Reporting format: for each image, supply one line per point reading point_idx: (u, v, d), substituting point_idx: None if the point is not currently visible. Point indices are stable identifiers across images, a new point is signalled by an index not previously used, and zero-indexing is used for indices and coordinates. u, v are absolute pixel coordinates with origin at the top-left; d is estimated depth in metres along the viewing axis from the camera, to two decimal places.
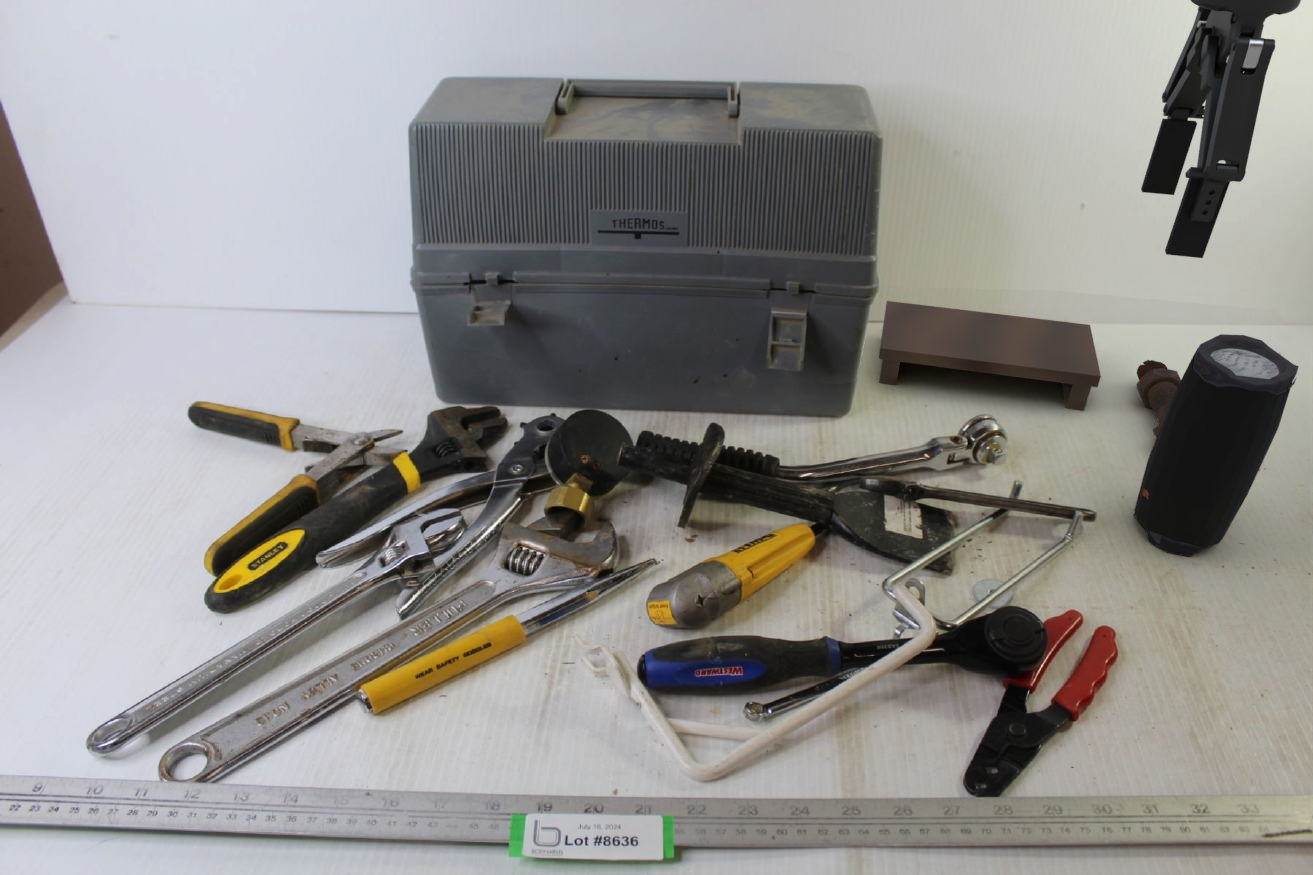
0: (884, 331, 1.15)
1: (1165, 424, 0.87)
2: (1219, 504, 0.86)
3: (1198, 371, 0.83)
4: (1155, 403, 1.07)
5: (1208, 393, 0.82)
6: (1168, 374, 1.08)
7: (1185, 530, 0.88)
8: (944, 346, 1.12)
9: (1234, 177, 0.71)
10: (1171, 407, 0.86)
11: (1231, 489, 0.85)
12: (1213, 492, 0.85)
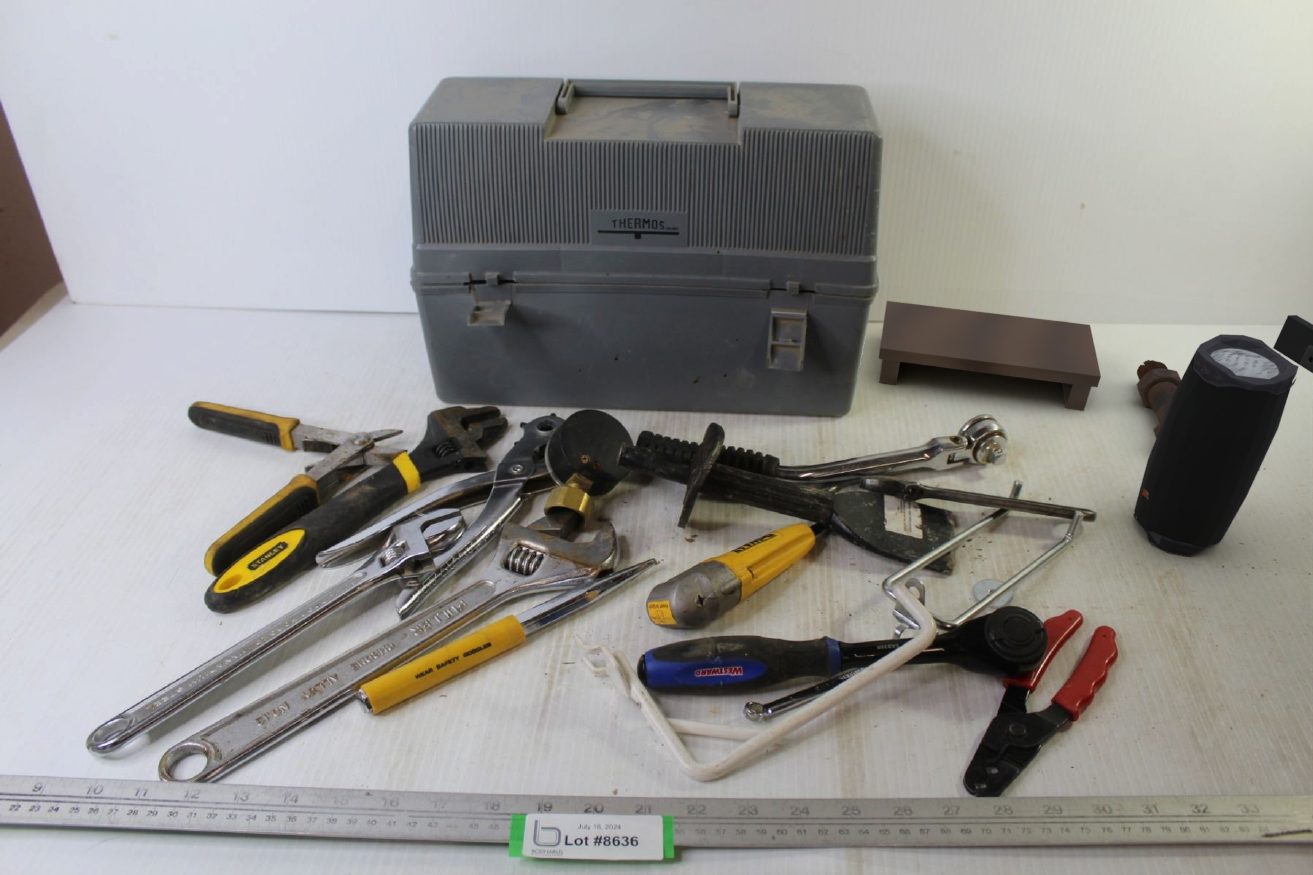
0: (884, 331, 1.15)
1: (1165, 424, 0.87)
2: (1219, 504, 0.86)
3: (1198, 371, 0.83)
4: (1155, 403, 1.07)
5: (1208, 393, 0.82)
6: (1168, 374, 1.08)
7: (1185, 530, 0.88)
8: (944, 346, 1.12)
9: None
10: (1171, 407, 0.86)
11: (1231, 489, 0.85)
12: (1213, 492, 0.85)
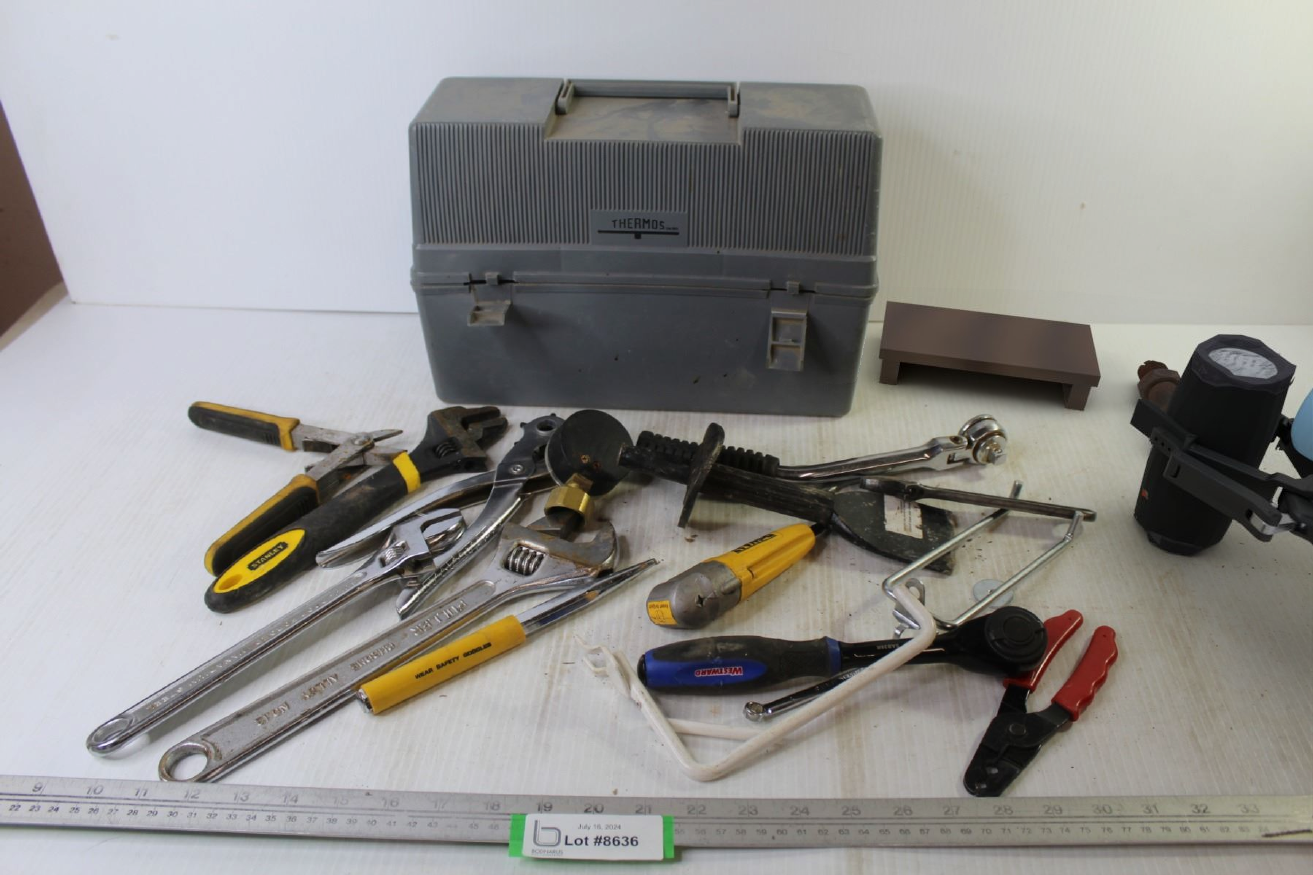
0: (884, 331, 1.15)
1: None
2: None
3: (1196, 371, 0.83)
4: (1156, 403, 1.07)
5: (1206, 393, 0.82)
6: (1169, 374, 1.08)
7: (1185, 530, 0.88)
8: (944, 346, 1.12)
9: None
10: (1170, 407, 0.86)
11: None
12: None
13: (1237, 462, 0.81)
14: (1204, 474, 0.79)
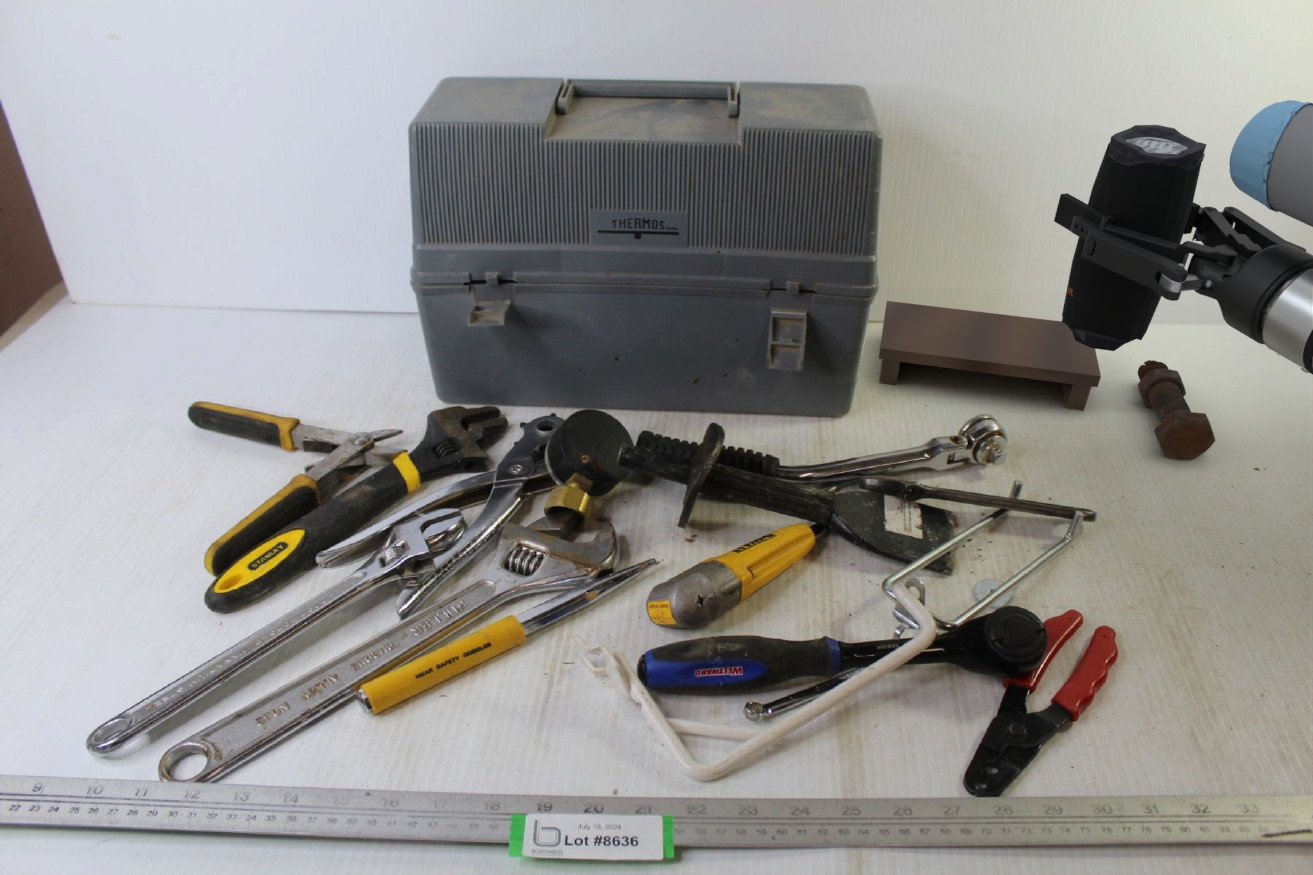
0: (884, 331, 1.15)
1: None
2: (1137, 290, 0.89)
3: (1112, 155, 0.86)
4: (1156, 403, 1.07)
5: (1121, 174, 0.85)
6: (1169, 374, 1.08)
7: (1107, 321, 0.92)
8: (944, 346, 1.12)
9: None
10: (1090, 198, 0.89)
11: None
12: None
13: (1150, 236, 0.84)
14: (1117, 245, 0.83)
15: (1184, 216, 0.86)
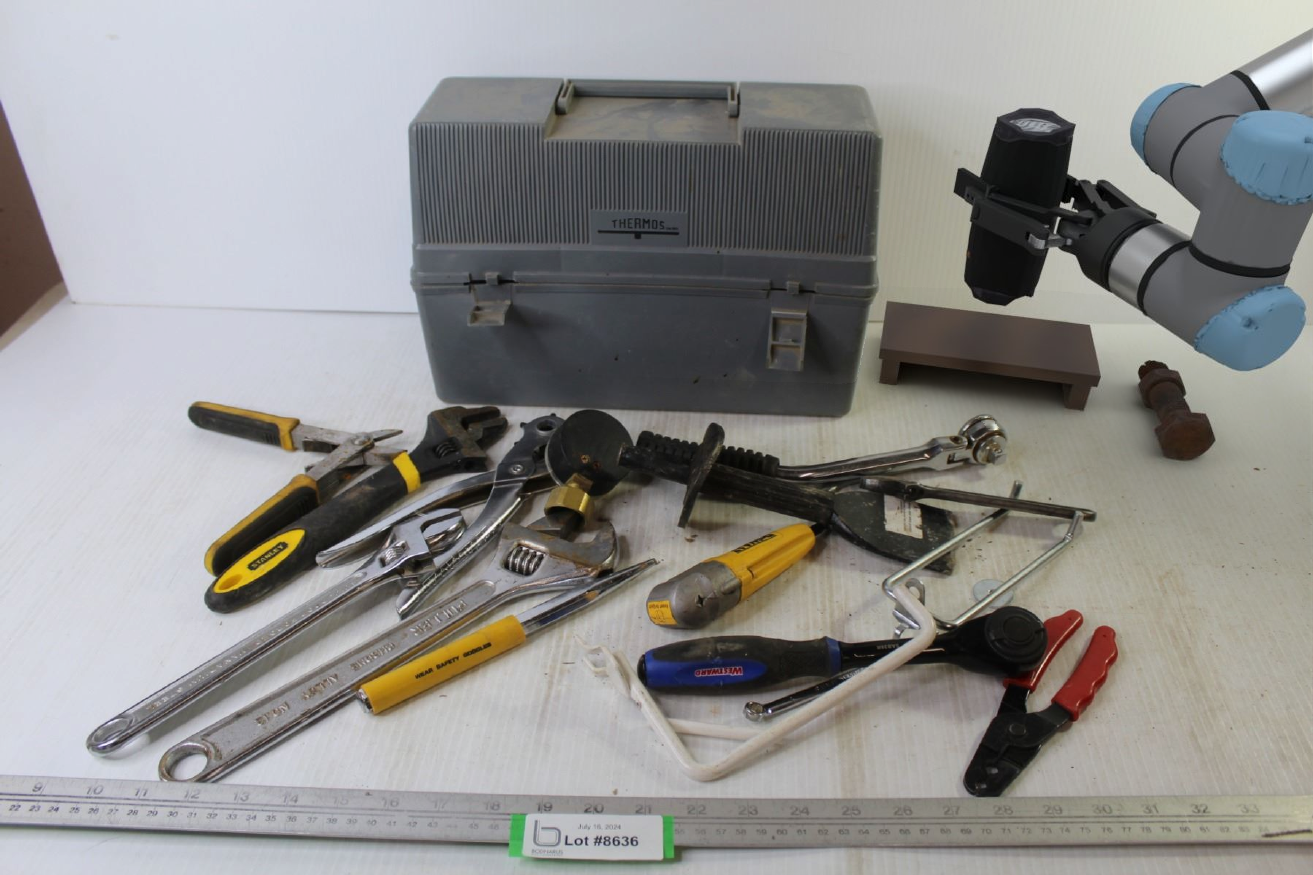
0: (884, 331, 1.15)
1: None
2: (1021, 251, 1.03)
3: (997, 133, 1.00)
4: (1156, 403, 1.07)
5: (1003, 149, 0.99)
6: (1169, 374, 1.08)
7: (998, 279, 1.05)
8: (944, 346, 1.12)
9: None
10: (981, 171, 1.03)
11: None
12: None
13: (1026, 203, 0.97)
14: (996, 209, 0.96)
15: (1058, 186, 1.00)
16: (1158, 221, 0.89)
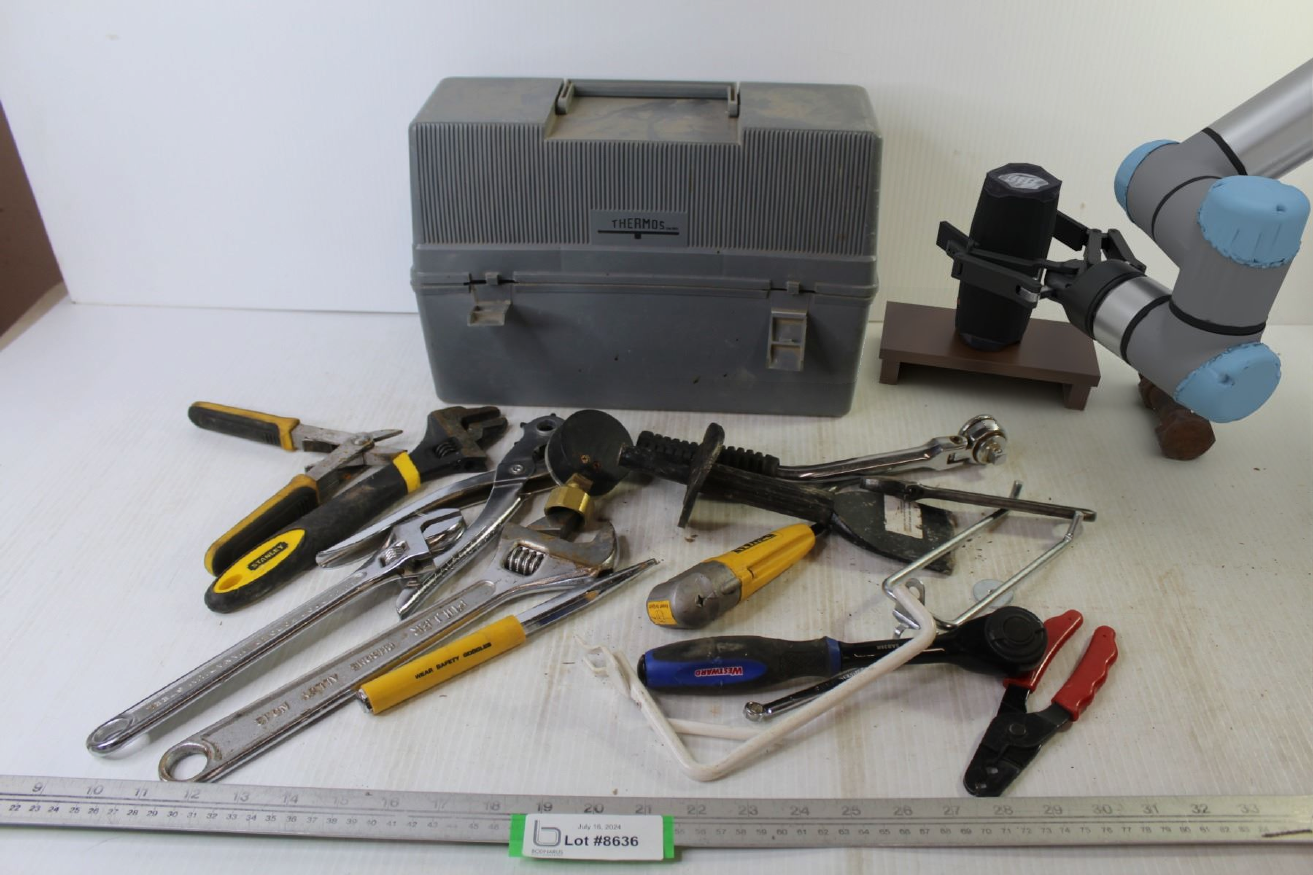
0: (884, 331, 1.15)
1: None
2: (1009, 301, 1.06)
3: (986, 188, 1.03)
4: (1157, 403, 1.07)
5: (992, 204, 1.02)
6: None
7: (987, 327, 1.09)
8: (944, 346, 1.12)
9: None
10: (971, 223, 1.07)
11: None
12: None
13: (1008, 256, 1.00)
14: (981, 265, 0.98)
15: (1045, 240, 1.03)
16: (1141, 273, 0.92)
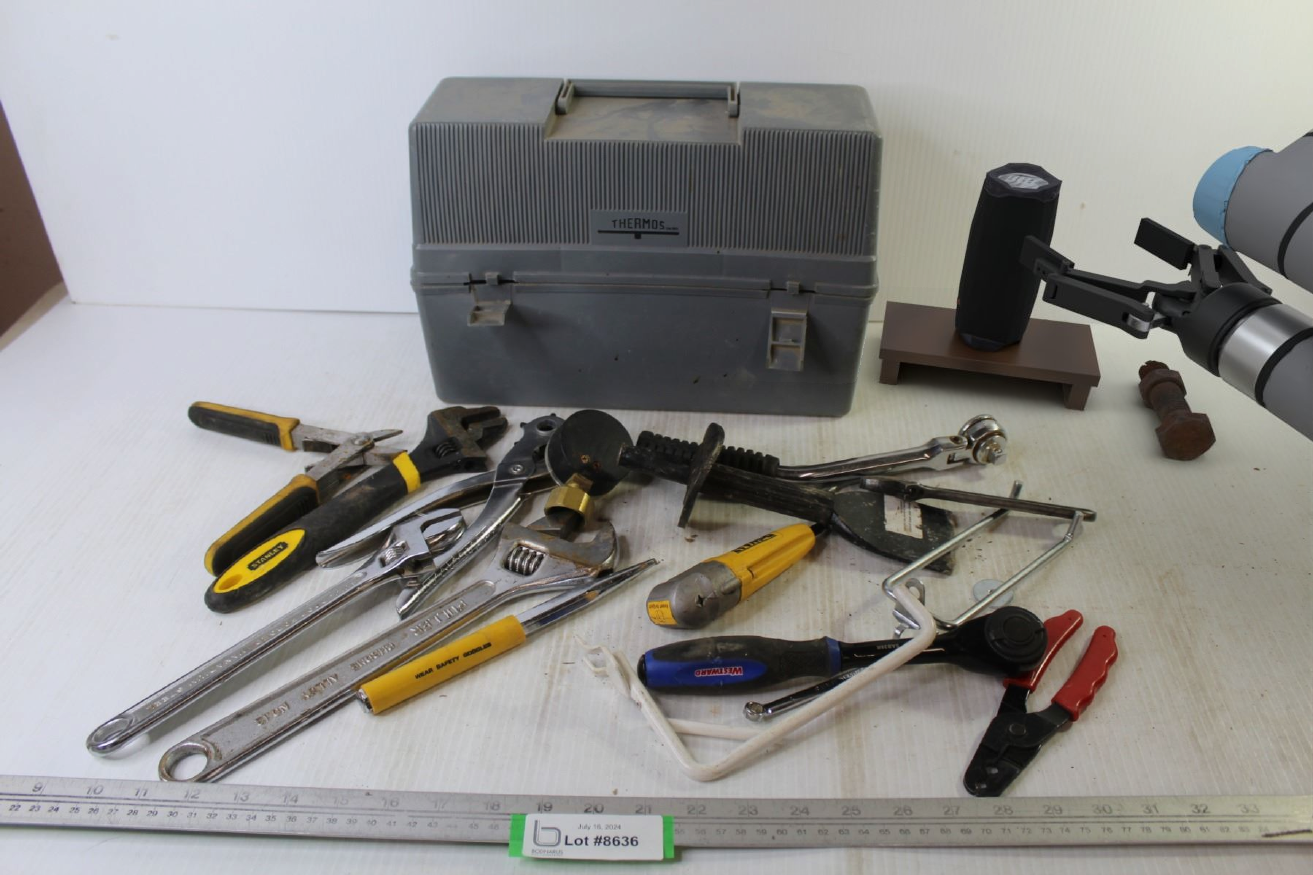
0: (884, 331, 1.15)
1: (968, 238, 1.07)
2: (1009, 301, 1.06)
3: (986, 188, 1.03)
4: (1157, 403, 1.07)
5: (992, 204, 1.02)
6: (1170, 374, 1.08)
7: (987, 327, 1.09)
8: (944, 346, 1.12)
9: None
10: (971, 223, 1.07)
11: (1017, 287, 1.05)
12: (1003, 289, 1.05)
13: (1110, 277, 0.87)
14: (1080, 288, 0.85)
15: (1045, 240, 1.03)
16: (1275, 300, 0.79)
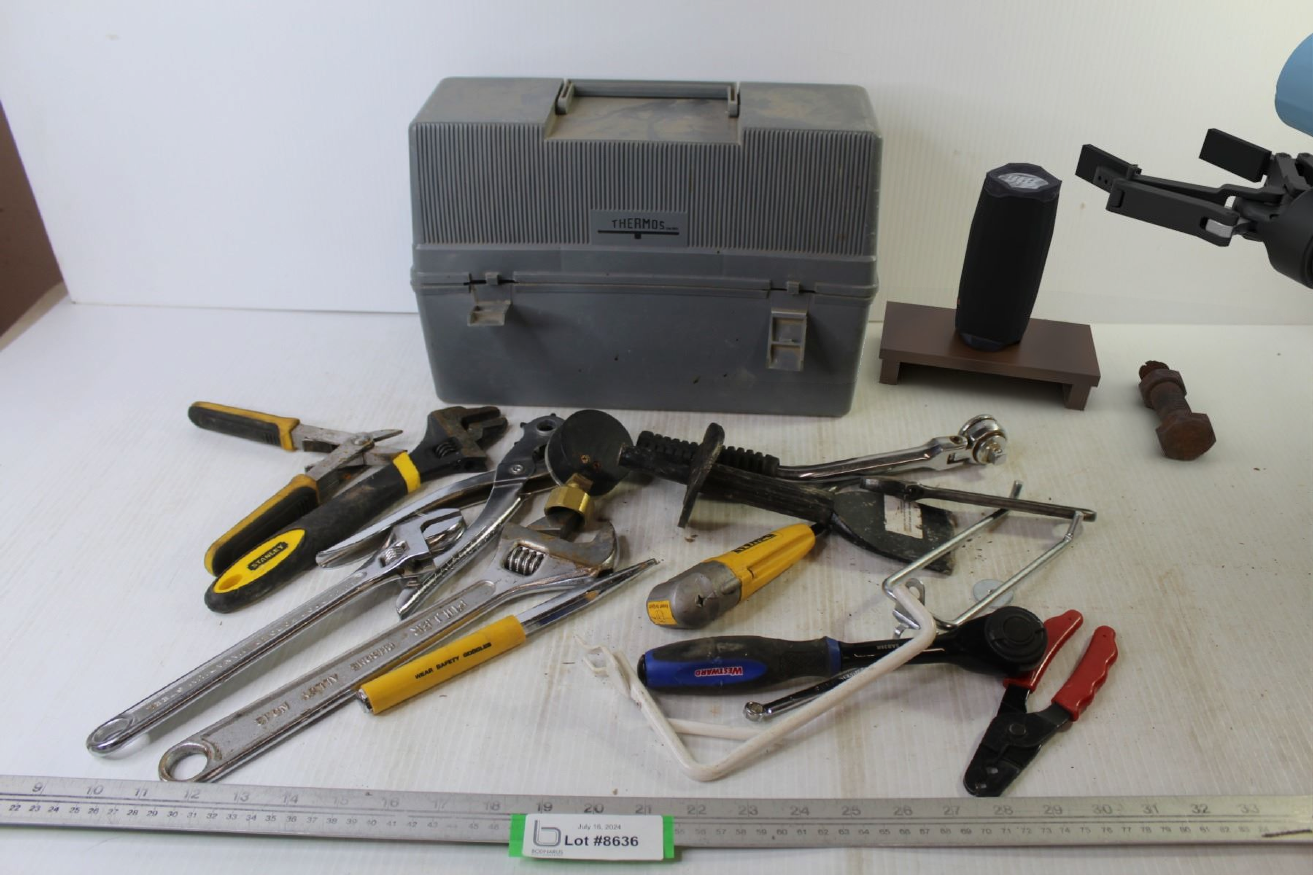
0: (884, 331, 1.15)
1: (968, 238, 1.07)
2: (1009, 301, 1.06)
3: (986, 188, 1.03)
4: (1157, 403, 1.07)
5: (992, 204, 1.02)
6: (1170, 374, 1.08)
7: (987, 327, 1.09)
8: (944, 346, 1.12)
9: None
10: (971, 223, 1.07)
11: (1017, 287, 1.05)
12: (1003, 289, 1.05)
13: (1183, 183, 0.77)
14: (1151, 193, 0.76)
15: (1045, 240, 1.03)
16: None
